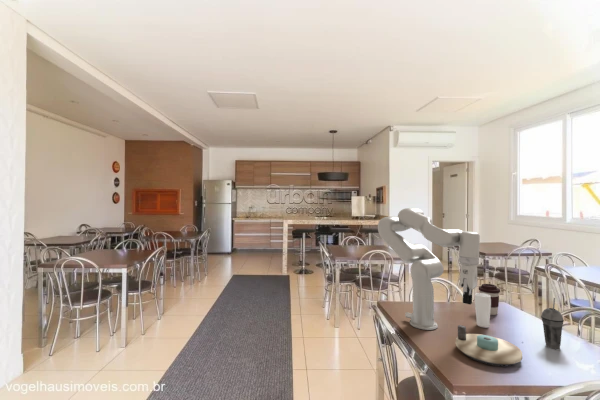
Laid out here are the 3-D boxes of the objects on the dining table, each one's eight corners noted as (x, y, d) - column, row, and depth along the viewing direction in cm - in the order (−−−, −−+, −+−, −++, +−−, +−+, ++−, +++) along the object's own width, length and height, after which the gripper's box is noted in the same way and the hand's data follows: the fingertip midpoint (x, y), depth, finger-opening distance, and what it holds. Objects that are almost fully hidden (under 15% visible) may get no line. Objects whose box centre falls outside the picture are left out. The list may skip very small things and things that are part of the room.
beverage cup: (536, 343, 127) (535, 295, 128) (552, 342, 128) (551, 295, 128) (552, 351, 120) (551, 300, 120) (569, 350, 121) (568, 300, 121)
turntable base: (456, 355, 117) (456, 351, 117) (467, 339, 130) (467, 336, 130) (512, 371, 105) (512, 367, 105) (518, 353, 118) (518, 349, 119)
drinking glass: (486, 323, 149) (486, 293, 149) (494, 329, 142) (493, 297, 142) (472, 323, 149) (471, 292, 150) (479, 328, 143) (478, 296, 143)
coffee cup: (504, 316, 158) (504, 287, 159) (485, 316, 159) (485, 287, 159) (493, 309, 168) (492, 282, 169) (475, 309, 168) (474, 282, 169)
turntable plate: (448, 350, 117) (448, 333, 117) (463, 332, 133) (463, 318, 133) (518, 371, 102) (517, 351, 102) (525, 348, 119) (525, 331, 119)
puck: (475, 347, 117) (475, 339, 117) (479, 340, 122) (478, 333, 122) (496, 352, 112) (496, 344, 112) (499, 346, 117) (499, 338, 117)
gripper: (474, 264, 120) (473, 310, 121) (482, 259, 132) (480, 301, 132) (454, 261, 125) (452, 305, 126) (463, 256, 137) (462, 297, 137)
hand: (467, 303), depth 129 cm, fingers closed
